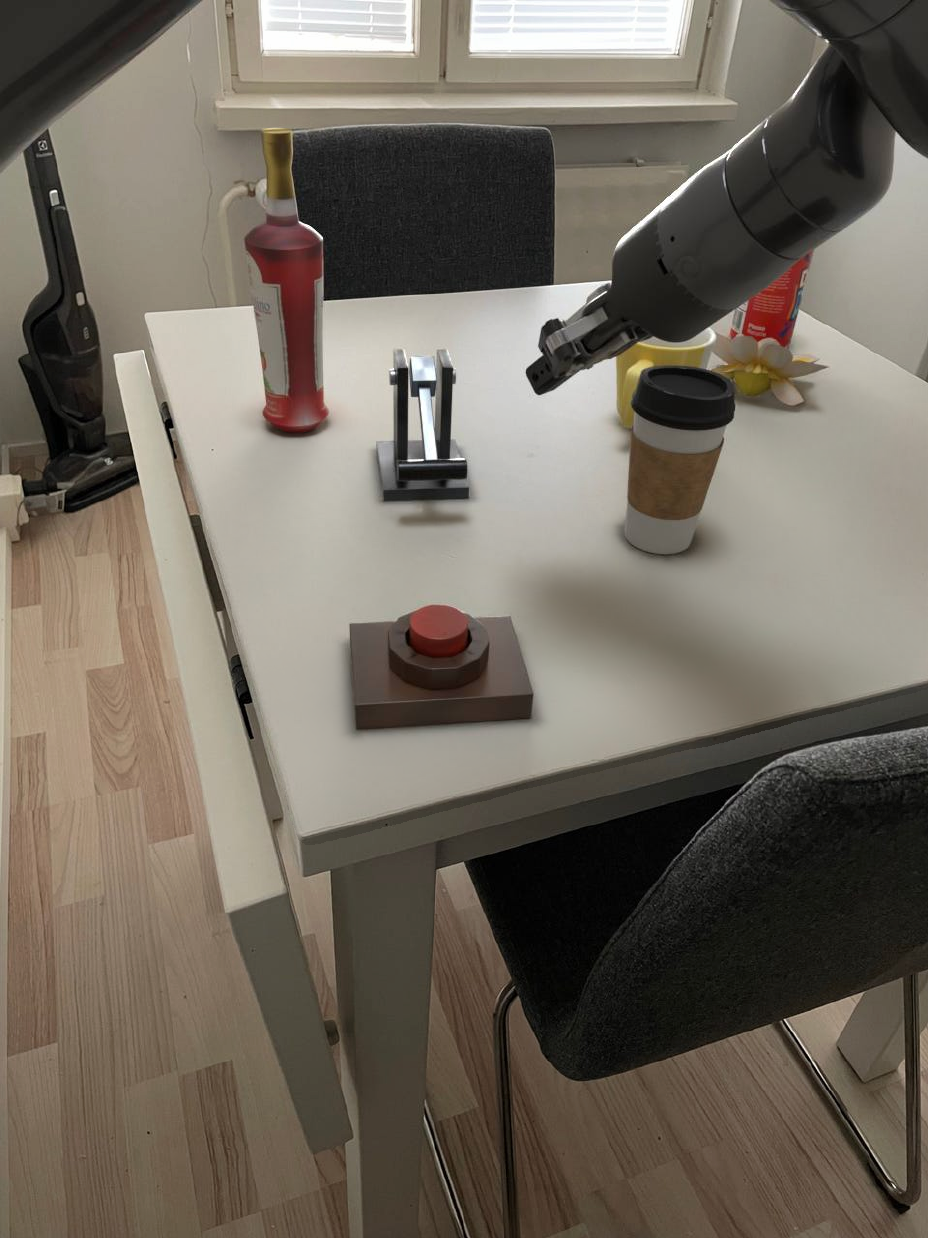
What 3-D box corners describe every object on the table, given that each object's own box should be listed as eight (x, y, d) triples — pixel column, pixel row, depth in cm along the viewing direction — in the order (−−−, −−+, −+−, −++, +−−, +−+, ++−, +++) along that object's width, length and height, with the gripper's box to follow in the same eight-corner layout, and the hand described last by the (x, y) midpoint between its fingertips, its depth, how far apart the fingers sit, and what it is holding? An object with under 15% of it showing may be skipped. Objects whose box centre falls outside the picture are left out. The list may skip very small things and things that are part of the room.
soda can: (715, 341, 126) (740, 222, 117) (751, 330, 130) (777, 214, 121) (765, 360, 121) (794, 237, 112) (800, 347, 126) (831, 228, 117)
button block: (355, 729, 64) (354, 684, 62) (350, 646, 71) (348, 603, 69) (531, 718, 66) (536, 673, 63) (508, 638, 73) (512, 595, 70)
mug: (636, 396, 111) (650, 306, 104) (714, 424, 105) (734, 330, 99) (566, 432, 102) (577, 336, 96) (647, 464, 97) (665, 365, 91)
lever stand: (468, 498, 90) (474, 378, 83) (383, 501, 89) (382, 380, 82) (454, 449, 98) (459, 337, 91) (376, 451, 97) (375, 337, 90)
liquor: (252, 415, 102) (223, 124, 86) (316, 404, 105) (301, 121, 88) (274, 443, 97) (249, 140, 80) (341, 431, 100) (330, 136, 83)
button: (412, 661, 64) (412, 640, 63) (407, 625, 68) (407, 605, 67) (470, 657, 65) (472, 637, 64) (463, 622, 68) (464, 602, 67)
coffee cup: (592, 523, 87) (615, 364, 78) (669, 506, 90) (699, 352, 81) (644, 570, 81) (674, 405, 72) (724, 551, 84) (763, 390, 75)
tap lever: (465, 485, 84) (468, 470, 82) (397, 487, 84) (398, 472, 81) (452, 372, 89) (454, 355, 87) (388, 372, 88) (389, 356, 86)
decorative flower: (846, 376, 113) (857, 298, 106) (810, 428, 107) (820, 349, 100) (725, 354, 120) (729, 279, 113) (686, 401, 115) (687, 326, 108)
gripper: (743, 176, 59) (572, 316, 74) (608, 206, 52) (447, 356, 66) (797, 284, 60) (616, 403, 74) (671, 330, 52) (497, 453, 66)
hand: (537, 381), depth 70 cm, fingers closed
